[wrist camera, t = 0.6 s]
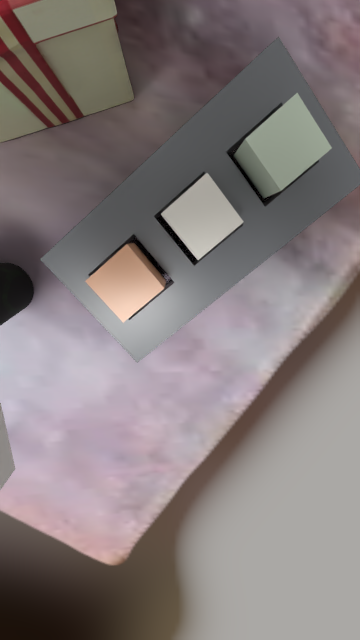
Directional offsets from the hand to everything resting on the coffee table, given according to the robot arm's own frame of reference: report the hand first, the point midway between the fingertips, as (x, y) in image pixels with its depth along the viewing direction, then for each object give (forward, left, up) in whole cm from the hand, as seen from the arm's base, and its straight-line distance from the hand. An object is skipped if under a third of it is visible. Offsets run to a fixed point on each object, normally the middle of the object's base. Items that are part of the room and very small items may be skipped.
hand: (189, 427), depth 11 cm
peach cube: (-5, -2, -22) cm, 22 cm away
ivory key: (-5, +6, -22) cm, 23 cm away
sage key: (-5, +15, -22) cm, 27 cm away
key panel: (-5, +6, -25) cm, 26 cm away
